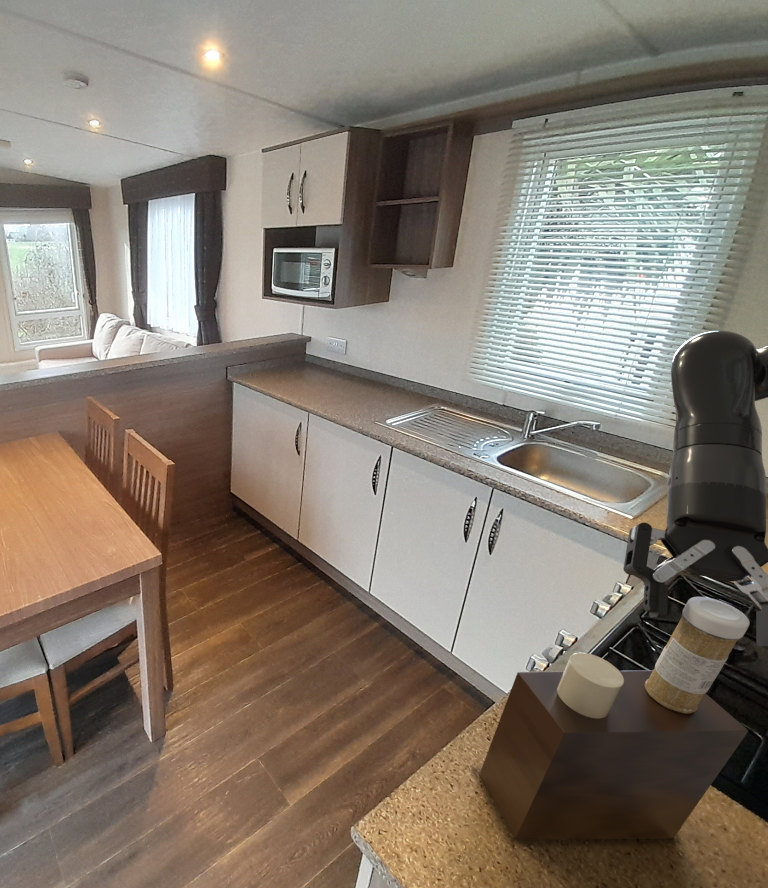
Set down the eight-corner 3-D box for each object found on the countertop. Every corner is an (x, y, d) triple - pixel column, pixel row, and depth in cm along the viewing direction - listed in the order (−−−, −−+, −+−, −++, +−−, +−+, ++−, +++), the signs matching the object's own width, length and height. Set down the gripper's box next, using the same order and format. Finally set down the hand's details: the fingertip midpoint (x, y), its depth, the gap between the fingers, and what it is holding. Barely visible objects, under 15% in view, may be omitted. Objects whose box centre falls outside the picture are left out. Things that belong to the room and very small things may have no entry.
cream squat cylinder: (608, 697, 56) (623, 666, 54) (608, 727, 53) (624, 695, 51) (558, 675, 59) (570, 645, 57) (555, 702, 56) (568, 672, 54)
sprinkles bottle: (668, 680, 58) (717, 593, 53) (708, 714, 54) (765, 624, 48) (632, 682, 58) (676, 595, 52) (669, 716, 54) (721, 626, 48)
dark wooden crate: (619, 775, 68) (678, 669, 59) (672, 840, 61) (749, 731, 52) (478, 776, 68) (517, 671, 60) (513, 842, 61) (564, 733, 52)
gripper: (648, 468, 55) (639, 606, 51) (832, 496, 49) (840, 658, 44) (621, 488, 62) (611, 613, 57) (780, 515, 55) (782, 658, 51)
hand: (711, 632), depth 51 cm, fingers open, 8 cm apart
